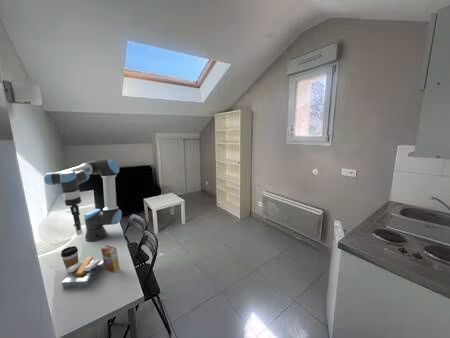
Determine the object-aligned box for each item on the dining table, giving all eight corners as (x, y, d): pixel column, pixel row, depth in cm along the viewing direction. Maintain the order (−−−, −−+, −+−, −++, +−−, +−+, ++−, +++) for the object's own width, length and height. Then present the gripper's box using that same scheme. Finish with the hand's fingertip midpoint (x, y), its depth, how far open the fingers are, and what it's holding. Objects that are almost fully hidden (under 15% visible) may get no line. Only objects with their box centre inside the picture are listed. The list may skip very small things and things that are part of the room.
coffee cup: (72, 275, 119) (67, 254, 116) (61, 273, 120) (56, 252, 117) (84, 266, 127) (80, 245, 124) (74, 264, 128) (69, 244, 125)
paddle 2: (95, 262, 123) (95, 259, 123) (100, 262, 123) (100, 259, 123) (83, 271, 112) (83, 267, 112) (89, 270, 112) (89, 267, 112)
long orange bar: (87, 258, 123) (86, 256, 122) (93, 258, 123) (92, 256, 122) (77, 274, 113) (75, 273, 112) (82, 274, 113) (81, 272, 112)
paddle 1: (80, 263, 123) (80, 260, 123) (86, 263, 123) (86, 260, 123) (67, 271, 112) (67, 268, 112) (73, 271, 112) (73, 268, 112)
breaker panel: (84, 266, 127) (83, 259, 126) (106, 265, 127) (104, 258, 126) (63, 288, 109) (61, 280, 108) (88, 286, 110) (86, 279, 109)
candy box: (104, 269, 123) (100, 248, 120) (110, 265, 127) (106, 244, 124) (114, 273, 120) (110, 251, 117) (119, 268, 124) (116, 247, 121)
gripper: (64, 193, 121) (70, 224, 126) (64, 205, 102) (72, 241, 107) (78, 190, 126) (84, 220, 131) (81, 202, 107) (88, 236, 112)
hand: (79, 229), depth 119 cm, fingers open, 13 cm apart
